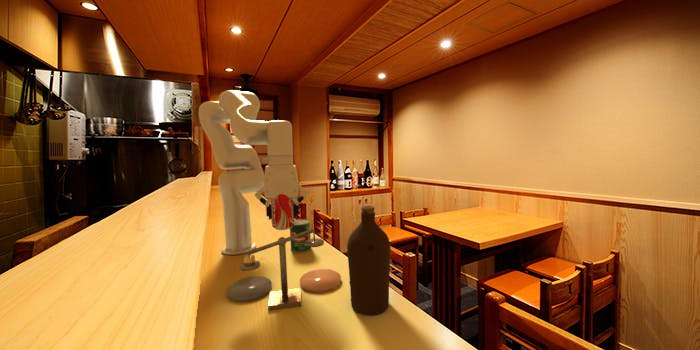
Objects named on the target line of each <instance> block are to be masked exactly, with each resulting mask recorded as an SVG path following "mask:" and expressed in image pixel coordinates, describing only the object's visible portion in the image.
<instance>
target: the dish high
mask: <svg viewBox="0 0 700 350" xmlns="http://www.w3.org/2000/svg"><path fill="white" fill-rule="evenodd" d="M341 282H342V278H341V274H340V273H339V272H338V271H336V270H334V269H333V270H332V269H329V268H319V269H318V268H317V269H315V270H314V269H313V270H310V271H307V272H306V273H304V274H303V275H302V276H301V277H300V278H299V286H300V288H301V287H302V289H303V291H306V290H307V292H309V291H310V293H326V292H329V291H333V290H335V289H336V288H338V287H339V286H340V284H341Z"/></svg>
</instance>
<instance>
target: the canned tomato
mask: <svg viewBox="0 0 700 350" xmlns="http://www.w3.org/2000/svg"><path fill="white" fill-rule="evenodd" d="M308 230H311V221H310V219H306V218H305V219H303V218H296V219H294V226H292V227H291V228H290V229H289V237H290V236H293V235H296V234H299V233H302V232H305V231H308ZM309 239H312V238H311V234H308V235H305V236H302V237H300V238H297V239H294V240H291V241H290V251H291V252H292V251H293V253H297V252H301V253H306V252H308V251H311V249H312V247H307V246H305V241H306V240H309ZM305 251H306V252H305Z"/></svg>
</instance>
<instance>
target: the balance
mask: <svg viewBox="0 0 700 350" xmlns="http://www.w3.org/2000/svg"><path fill="white" fill-rule="evenodd" d="M308 234H310V235H312V234H313V235H312V236H313V238H311V239H309V240H306V241H305V246H307V247H311V248H318V247H321V246H324V244H325V240H324V239H323V238H316V231H315V229H314V228H310V230H308V231H305V232H302V233H299V234H296V235H293V236H290V235H289V236H288V237H284V236H281V237H279V238H278V239H277V240H276V241H274V242H271V243H268V244H265V245H261V246H260V247H256V248H255V249H253V250H250V251H248V252H247V255H244V257H243V262H242V263H240V264H239V265H238V269H239V271H242V272H250V271H255V270H257V269H259V268H260V267H261V262H260V261H259V260H256V256H255V255H254V254H256V253H259V252H262V251H265V250H267V249H271V248H273V247H277V246H278V253H279V266H280V267H279V268H280V285H281V286H280V288H281V289H280V290H271V291H270V292H269V297H268V298H269V299H268V305H267V310H268V311H273V310H274V311H275V310H281V309H291V308H298V307H302V299H301V298H302V297H301V296H302V295H301V287H298V288H297V287H296V288H290V289H289V287H288V285H289V284H288V268H287V251H286V250H287V249H286V247H287V245H286V244H287V243H288V242H291V240H294V239H297V238H300V237H302V236H305V235H308Z"/></svg>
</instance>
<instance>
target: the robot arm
mask: <svg viewBox="0 0 700 350" xmlns="http://www.w3.org/2000/svg"><path fill="white" fill-rule="evenodd" d="M217 100H218V101H217ZM217 100H216V101H214V100H211V101H209V100H208V101H204V102H202V103H201V104H200V105H199V107H198V119H199V123H200V125H201V127H202V130H203V131H204V133H205V134H206V137H207V138H208V139H209V142H210V147H211V150H212V153H213V156H214V159H215V162H216V165H217V166H218V168H220V169H221V170H226V171H224V172H222V173H220V175H219V177H218V181H217V182H218V188H219V191H220V195H221V201H222V208H223V223H224V235H225V238H224V239H225V245H224V246H223V247H222V248H221V251H222V254H224V255H228V256H237V255H243V254H248V251H250V250H253V249H256V248H257V243H256V242H254V241H252V225H251V224H252V223H251V212H250V211H251V209H250V203H249V201H248V200H247V199H246V198H245V197H244V194H248V193H254V192H255V193H254V197H255V198H256V199H258V201H260V203H261V204H262V205H263V206H265V211H266V217H268V220H269V221H270V220H271V199H274V198H275V197H276V196H278V195H279V194H285V195H286V196H288V198H293V201H294V219H297V215H298V216H299V205H300V204H301V203H302V201H304V199H305V197H307V195H308V194H309V191H308V190H307V189H306V188H304V187H303V186H301V185H300V184H299V180H298V179H299V177H298V171H297V166H296V165H295V164H294V147H293V146H294V145H293V143H294V142H293V125H292V123H291V122H290V121H289V120H279V119H277V120H275V119H274V120H273V119H272V120H269V121H267V120H266V121H265V120H257V117H258V113H259V112H260V109H261V108H260V107H261V103H260V99H259V98H258V96H257V95H256V94H255V93H253V92H250V91H241V90H235V89H234V90H233V89H230V90H229V89H228V90H225V91H223V92H221V93H220V94H219V96H218V99H217ZM222 124H229V126H230V127H229V128H230V131H231V132H232V133H230V131H229V130H228V129H227V128H226V127H224V126H223V125H222ZM232 134H233V135H232ZM233 136H234V137H235V138H236V139H237V140H238V141H240V143H243V145H242V144H241V145H240V144H236V143H235V141H234V137H233ZM260 145H262V146H263V145H265V146H267V147H266V148H267V156H266V157H263V158H262V163H266V164H267V165H266V166H265V167H264V168H265V169H264V170H263V167H262V163H261V161H260V159H259V155H258V152H257V151H256V149H255V148H253V146H260ZM280 192H283V193H280ZM299 192H301V193H302V194H301V195H300V196H299ZM263 193H264V197H263V195H262V194H263ZM271 221H272V220H271Z"/></svg>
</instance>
